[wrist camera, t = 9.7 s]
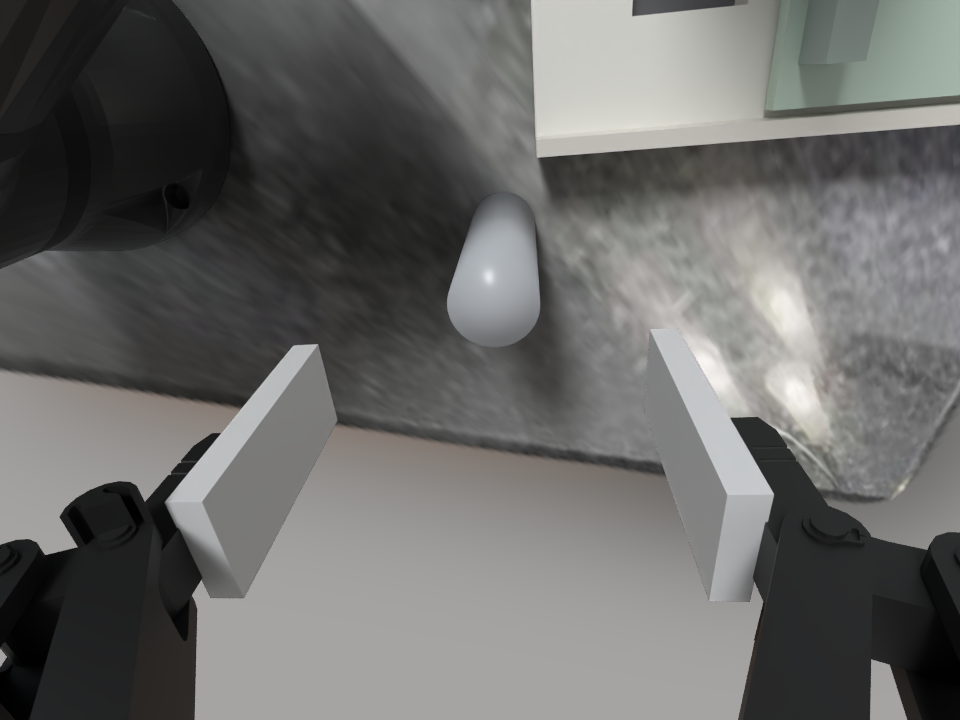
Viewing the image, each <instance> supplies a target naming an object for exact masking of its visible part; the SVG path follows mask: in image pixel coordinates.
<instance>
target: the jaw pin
mask: <svg viewBox="0 0 960 720" xmlns="http://www.w3.org/2000/svg"><path fill="white" fill-rule="evenodd" d="M447 309H448V314H449V317H450V320H451V322H452V324H453V325H454V327H455V328H456V329H457V331H458V332H459V333H460V334H461V335H462V336H464V337H465V338H466V339H468V340H469V341H471V342H473V343H476V344H478V345H482V346H486V347H503V346H508V345H511V344H514V343H516V342H518V341H519V340H521V339H522V338H524V337H525V336H526V335H527V334H528V333H529V332H530V331H531V330H532V329H533V327H534V326H535V324H536V322H537V319H538V317H539V312H540V292H539V278H538V263H537V249H536V234H535V221H534V215H533V212H532V209H531V208H530V206H529V205H528V203H527V202H526V201H525V200H524V199H523V198H521V197H520V196H518V195H516V194H513V193H509V192H499V193H494V194H492V195H489V196H488V197H486V198H485V199H484V200H482V201H481V202H480V204H479V205H478V206H477V208H476V210H475V212H474V215H473V218H472V221H471V224H470V228H469V231H468V234H467V237H466V240H465V243H464V246H463V249H462V252H461V255H460V259H459V262H458V265H457V268H456V271H455V274H454V277H453V280H452V283H451V286H450V290H449V293H448V298H447Z"/></svg>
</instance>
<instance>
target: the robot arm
mask: <svg viewBox="0 0 960 720" xmlns="http://www.w3.org/2000/svg"><path fill="white" fill-rule="evenodd" d="M229 156H230V124H229V116H228V110H227V105H226V101H225V97H224V93H223V90H222V86H221V83H220V80H219V78H218V75H217V72H216V70H215V68H214V65H213V63H212V61H211V59H210V57H209V55H208V53H207V51H206V49H205V47H204V45H203V43H202V42H201V40H200V38H199V37H198V35H197V33H196V32H195V30H194V29H193V27H192V26H191V24H190V23H189V21H188V20H187V19H186V17H185V16H184V15H183V13H182V12H181V11H180V10H179V9H178V7H177V6H176V5H175V4H174V3H173V1H172V0H0V269H1V268H3V267H6V266H8V265H11V264H13V263H16V262H18V261H21V260H23V259H25V258H27V257H30V256H32V255H35V254H38V253H40V252H43V251H125V250H133V249H138V248H143V247H147V246H150V245H153V244H156V243H158V242H161V241H163V240H165V239H167V238H169V237H171V236H173V235H175V234H177V233H179V232H181V231H183V230H185V229H187V228H188V227H190V226H192V225H193V224H194V223H195V222H197V221H198V220H199V219H200V218H201V217H202V216H203V215H204V214H205V213H206V212H207V211H208V210H209V208H210V207H211V206H212V204H213V203H214V201H215V199H216V198H217V196H218V194H219V192H220V190H221V188H222V185H223V182H224V179H225V176H226V172H227V169H228V163H229ZM644 413H645V415H646V418H647V421H648V424H649V427H650V430H651V433H652V436H653V439H654V442H655V445H656V448H657V451H658V453H659V456H660V459H661V462H662V465H663V468H664V471H665V474H666V477H667V480H668V483H669V486H670V488H671V491H672V494H673V497H674V500H675V503H676V506H677V509H678V512H679V515H680V518H681V521H682V524H683V526H684V529H685V532H686V535H687V538H688V541H689V544H690V547H691V550H692V553H693V556H694V559H695V562H696V564H697V568H698V570H699V573H700V576H701V579H702V582H703V585H704V588H705V591H706V594H707V597H708V600H709V601H734V602H735V601H736V602H738V601H739V602H750V598H751V594H752V590H753V585H754V581H755V583H756V586H757V588H758V590H759V593H760V595H761V597H762V599H763V606H762V610H761V614H760V618H759V622H758V626H757V630H756V634H755V639H754V640H755V642H754V647H753V652H752V657H751V662H750V666H749V671H748V676H747V680H746V685H745V690H744V694H743V699H742V704H741V709H740V713H739V718H738V720H870V687H871V659H873V660H876V661H879V662H883V663H886V664H890V666H891V670H892V673H893V676H894V679H895V682H896V685H897V689H898V692H899V695H900V698H901V701H902V704H903V707H904V710H905V714H906V717H907V720H960V533H956V532H948V533H945V534H941V535H938V536H936V537H935V538H934V539H933V541H932V542H931V544H930V545H929V548H928V550H925V549H920V548H915V547H910V546H906V545H901V544H896V543H892V542H887V541H884V540H880V539H877V538H873V537H871V535H870V533H869V532H868V531H867V529H866V528H865V527H864V526H863V525H862V524H861V523H860V522H859V521H857V520H856V519H854V518H853V517H851V516H850V515H848V514H847V513H845V512H842V511H840V510H837V509H835V508H832V507H830V506H828V505H827V503H826V502H825V500H824V499H823V497H822V496H821V494H820V493H819V492H818V490H817V489H816V487H815V486H814V484H813V483H812V481H811V480H810V478H809V477H808V476H807V474H806V473H805V471H804V470H803V468H802V467H801V465H800V464H799V462H796V458H795V457H794V455H793V454H792V452H791V451H790V449H787V445H786V443H785V442H784V440H783V439H782V438H781V436H780V435H779V433H778V432H777V430H775V429H774V428H773V427H771V426H770V425H768V424H767V423H765V422H764V421H763V420H761V419H760V418H758V417H743V418H730V417H729V415H728V414H727V412H726V410H725V408H724V407H723V405H722V403H721V402H720V400H719V398H718V396H717V395H716V393H715V391H714V389H713V388H712V386H711V384H710V383H709V381H708V379H707V377H706V376H705V374H704V372H703V370H702V369H701V367H700V365H699V363H698V362H697V360H696V358H695V357H694V355H693V353H692V351H691V350H690V348H689V346H688V344H687V343H686V341H685V339H684V338H683V336H682V334H681V332H680V331H679V329H678V328H672V329H650V335H649V349H648V363H647V378H646V392H645V406H644ZM336 422H337V416H336V412H335V409H334V405H333V401H332V397H331V393H330V389H329V385H328V381H327V377H326V373H325V369H324V365H323V361H322V358H321V354H320V350H319V346H318V344H313V345H293V347H292V348H291V349H290V350H289V352H288V353H287V354H286V355H285V356H284V358H283V359H282V360H281V361H280V362H279V364H278V365H277V366H276V367H275V369H274V370H273V371H272V372H271V373H270V375H269V376H268V377H267V378H266V380H265V381H264V382H263V383H262V384H261V386H260V387H259V388H258V389H257V390H256V392H255V393H254V394H253V395H252V397H251V398H250V399H249V400H248V401H247V403H246V404H245V405H244V406H243V407H242V409H241V410H240V411H239V412H238V414H237V415H236V416H235V417H234V418H233V420H232V421H231V423H229V425H228V426H227V427H226V428H225V429H224V431H223V432H222V433H213V434H210V435H209V436H208V437H206V438H205V439H203V440H202V441H200V442H199V443H197V444H196V445H194V446H193V447H192V449H191V450H190V451H189V452H188V453H187V454H186V455H185V457H184V458H183V459H182V460H181V463H179V464H178V465H177V466H176V467H175V468H174V469H173V471H172V472H171V475H168V476H167V477H166V479H165V480H164V481H163V482H162V483H161V484H160V486H159V487H158V488H157V489H156V490H155V491H154V492H153V494H152V495H151V496H150V497H149V498H148V499H147V500H146V502H144V500H143V498H142V496H141V494H140V492H139V490H138V488H137V486H136V485H134V484H132V483H131V482H121V481H118V482H113V483H108V484H104V485H102V486H99V487H96V488H94V489H92V490H89V491H88V492H86V493H84V494H83V495H81V496H79V497H77V498H76V499H75V500H74V501H73V502H71V503H70V504H69V505H68V506H67V507H66V508H65V509H64V511H63V512H62V514H61V516H60V519H61V520H62V522H63V523H64V525H65V527H66V528H67V530H68V531H69V533H70V535H71V536H72V538H73V540H74V541H75V543H76V545H77V546H78V547H77V548H74V549H69V550H65V551H61V552H57V553H53V554H48V555H45V554H44V553H43V551H42V550H41V549H40V547H39V545H38V544H37V542H34V541H32V540H29V539H25V540H15V541H11V542H8V543H5V544H2V545H0V649H1V650H2V651H3V652H4V653H5V655H6V656H7V658H6V660H5V661H4V663H3V664H2V666H1V667H0V720H194V717H195V716H194V715H195V677H196V637H197V635H196V634H197V607H196V604H195V601H194V599H193V597H192V594H193V592H194V591H195V589H196V587H197V586H198V584H199V583H200V581H201V579H202V581H203V584H204V586H205V588H206V590H207V592H208V594H209V596H210V598H244V597H245V595H246V593H247V591H248V590H249V588H250V585H251V584H252V582H253V580H254V578H255V576H256V574H257V572H258V571H259V568H260V567H261V565H262V563H263V561H264V559H265V557H266V555H267V553H268V551H269V549H270V548H271V546H272V544H273V542H274V540H275V538H276V536H277V534H278V533H279V531H280V529H281V527H282V525H283V523H284V521H285V519H286V517H287V515H288V513H289V512H290V510H291V508H292V506H293V504H294V502H295V500H296V498H297V496H298V494H299V493H300V491H301V489H302V487H303V485H304V483H305V481H306V479H307V477H308V475H309V474H310V472H311V470H312V468H313V466H314V464H315V462H316V460H317V458H318V456H319V455H320V453H321V451H322V449H323V447H324V445H325V443H326V441H327V439H328V437H329V435H330V434H331V432H332V430H333V428H334V426H335V424H336Z"/></svg>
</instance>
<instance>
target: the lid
mask: <svg viewBox="0 0 960 720" xmlns="http://www.w3.org/2000/svg"><path fill="white" fill-rule="evenodd" d="M954 95H960V0H781V3H780V10H779V16H778V23H777V30H776V36H775V43H774V50H773V56H772V63H771V70H770V76H769V83H768V90H767V96H766V103H765V109H767V110H772V111H775V110H787V109H799V108H811V107H823V106H835V105H847V104H859V103H871V102H883V101H895V100H907V99H918V98H930V97H942V96H954Z"/></svg>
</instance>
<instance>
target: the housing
mask: <svg viewBox="0 0 960 720" xmlns="http://www.w3.org/2000/svg"><path fill="white" fill-rule="evenodd" d="M780 3H781V0H531V27H532V56H533V85H534V115H535V144H536V155H537V158H539V157H552V156H564V155H577V154H590V153H603V152H615V151H628V150H641V149H654V148H666V147H679V146H692V145H705V144H717V143H730V142H743V141H756V140H769V139H781V138H794V137H807V136H820V135H832V134H845V133H858V132H871V131H883V130H896V129H909V128H922V127H934V126H947V125H960V95H954V96H942V97H930V98H918V99H907V100H895V101H883V102H871V103H859V104H847V105H835V106H823V107H811V108H799V109H787V110H775V111H772V110H767V109H765V103H766V96H767V90H768V83H769V76H770V70H771V63H772V56H773V50H774V43H775V36H776V30H777V23H778V16H779V10H780Z"/></svg>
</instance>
